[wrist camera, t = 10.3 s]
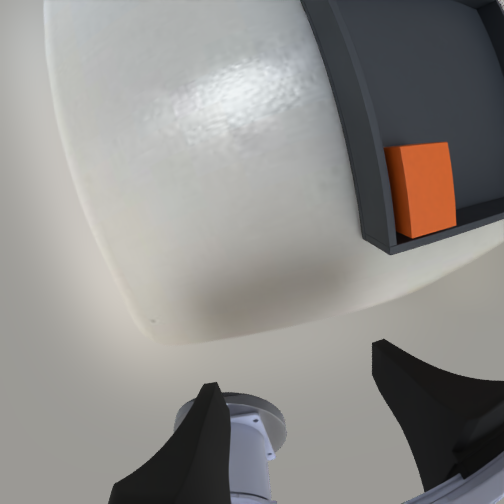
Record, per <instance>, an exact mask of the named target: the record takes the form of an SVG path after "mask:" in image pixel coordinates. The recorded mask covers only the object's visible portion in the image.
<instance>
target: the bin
mask: <svg viewBox="0 0 504 504" xmlns="http://www.w3.org/2000/svg"><path fill="white" fill-rule="evenodd" d="M301 2H302V5H303V7H304V10H305V12H306V14H307V17H308V20H309V22H310V25H311V27H312V30H313V33H314V35H315V38H316V41H317V44H318V46H319V49H320V52H321V55H322V58H323V61H324V64H325V67H326V70H327V74H328V77H329V80H330V83H331V87H332V90H333V94H334V97H335V101H336V104H337V108H338V112H339V116H340V120H341V124H342V128H343V132H344V136H345V140H346V145H347V149H348V154H349V159H350V163H351V168H352V173H353V179H354V184H355V190H356V195H357V202H358V208H359V214H360V221H361V228H362V236H363V239H364V240H366V241H368V242H369V243H371V244H373V245H374V246H376V247H377V248H379V249H381V250H382V251H384V252H385V253H387V254H389V255H393V254H397V253H400V252H404V251H407V250H410V249H413V248H417V247H420V246H423V245H426V244H430V243H433V242H436V241H439V240H442V239H445V238H449V237H452V236H455V235H458V234H461V233H464V232H467V231H470V230H473V229H476V228H479V227H482V226H485V225H487V224H490V223H493V222H496V221H499V220H502V219H504V11H503V9H502V7H501V5H500V3H499V1H498V0H301ZM434 142H447V143H448V148H449V154H450V160H451V168H452V175H453V184H454V195H455V208H456V226H453V227H449V228H446V229H443V230H439V231H436V232H433V233H429V234H426V235H422V236H419V237H415V238H410V237H408V236H406V235H403V234H401V233H399V232H397V231H396V230H395V220H394V211H393V203H392V195H391V189H390V182H389V176H388V170H387V164H386V159H385V154H384V149H383V147H391V146H399V145H407V144H419V143H434Z"/></svg>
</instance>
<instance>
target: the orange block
mask: <svg viewBox="0 0 504 504" xmlns="http://www.w3.org/2000/svg"><path fill="white" fill-rule="evenodd" d="M383 149H384V154H385V159H386V164H387V170H388V176H389V182H390V189H391V195H392V203H393V211H394V220H395V230H396V231H397V232H399V233H401V234H403V235H406V236H408V237H410V238H415V237H419V236H422V235H426V234H429V233H433V232H436V231H439V230H443V229H446V228H449V227H453V226H456V208H455V195H454V184H453V175H452V168H451V160H450V154H449V148H448V143H447V142H434V143H419V144H407V145H399V146H391V147H383Z"/></svg>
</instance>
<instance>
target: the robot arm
mask: <svg viewBox="0 0 504 504" xmlns="http://www.w3.org/2000/svg"><path fill="white" fill-rule="evenodd" d="M372 376H373V378H374V380H375V382H376V385H377V387H378V389H379V391H380V393H381V395H382V396H383V398H384V400H385V401H386V403H387V404H388V406H389V408H390V409H391V411H392V412H393V414H394V416H395V417H396V419H397V421H398V422H399V424H400V426H401V428H402V430H403V432H404V434H405V436H406V439H407V440H408V443H409V446H410V448H411V450H412V453H413V456H414V459H415V461H416V464H417V467H418V470H419V474H420V477H421V480H422V484H423V487H424V492H425V493H423V494H421V495H419V496H417V497H415V498H413V499H411V500H408V501H406V502H404V503H402V504H495V503H497V502H498V501H499V500H501V499H502V498H503V497H504V381H490V380H480V379H475V378H469V377H465V376H461V375H457V374H453V373H450V372H447V371H445V370H442V369H439V368H437V367H434V366H432V365H430V364H428V363H426V362H423V361H422V360H419V359H418V358H415V357H414V356H412V355H410V354H408V353H407V352H405V351H403V350H402V349H400V348H398V347H397V346H395V345H393V344H392V343H390V342H388V341H387V340H385V339H382V340H379V341H376V342H373V343H372ZM255 419H256V420H255ZM275 458H276V456H275V453H274V450H273V448H272V445H271V443H270V440H269V438H268V435H267V433H266V430H265V428H264V425H263V422H262V420H261V417H260V414H259V413H256V412H253V413H247V414H241V415H235V416H230V410H229V408H228V406H227V403H226V401H225V399H224V397H223V395H222V392H221V390H220V388H219V386H218V384H217V382H214V383H208V384H204V385H203V386H202V388H201V390H200V392H199V394H198V396H197V397H196V399H195V401H194V403H193V405H192V406H191V408H190V410H189V411H188V413H187V415H186V416H185V418H184V419H183V421H182V422H181V424H180V425H179V427H178V428H177V430H176V431H175V432H174V434H173V435H172V436H171V438H170V439H169V440H168V441H167V442H166V443H165V445H164V446H163V447H162V448H161V449H160V450H159V451H158V452H157V453H156V454H155V455H154V456H153V457H152V458H151V459H150V460H149V461H147V462H146V463H145V464H144V465H142V466H141V467H140V468H139V469H137V470H136V471H134V472H133V473H132V474H130V475H128V476H127V477H125V478H124V479H122V480H120V481H119V482H117V483H115V484H114V486H113V488H112V491H111V495H110V498H109V502H108V504H277V501H271V489H270V479H269V471H268V460H273V459H275Z"/></svg>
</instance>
